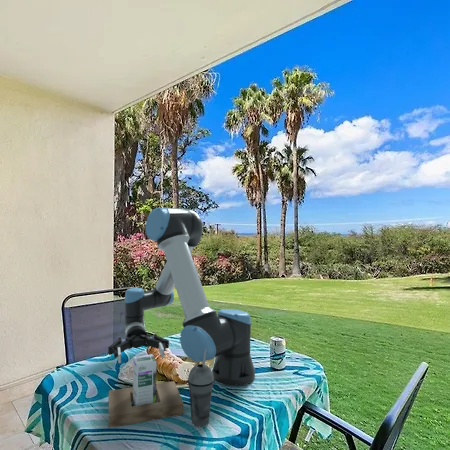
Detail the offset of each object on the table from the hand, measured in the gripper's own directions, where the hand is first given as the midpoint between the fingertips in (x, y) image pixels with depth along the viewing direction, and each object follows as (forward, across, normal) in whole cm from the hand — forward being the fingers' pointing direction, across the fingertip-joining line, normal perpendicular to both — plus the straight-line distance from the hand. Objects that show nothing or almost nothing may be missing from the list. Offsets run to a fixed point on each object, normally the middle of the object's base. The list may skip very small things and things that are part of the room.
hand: (141, 356), depth 107 cm
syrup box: (+10, 0, -11) cm, 15 cm away
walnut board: (+10, 0, -11) cm, 15 cm away
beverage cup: (+22, -14, -12) cm, 28 cm away
